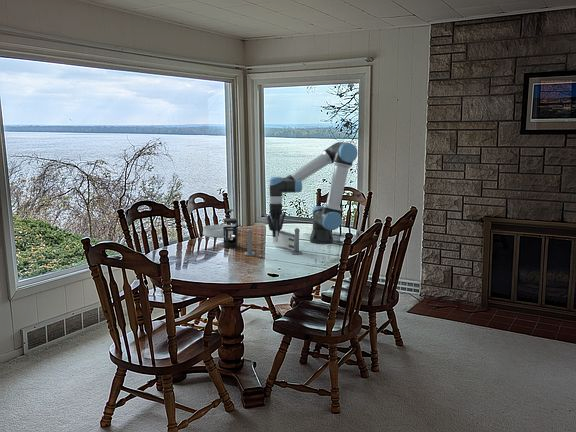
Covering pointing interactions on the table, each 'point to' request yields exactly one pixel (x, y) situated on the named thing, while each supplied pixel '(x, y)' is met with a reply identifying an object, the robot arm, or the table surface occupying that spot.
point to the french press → (227, 242)
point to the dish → (215, 230)
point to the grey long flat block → (286, 240)
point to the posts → (250, 253)
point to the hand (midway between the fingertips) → (275, 241)
